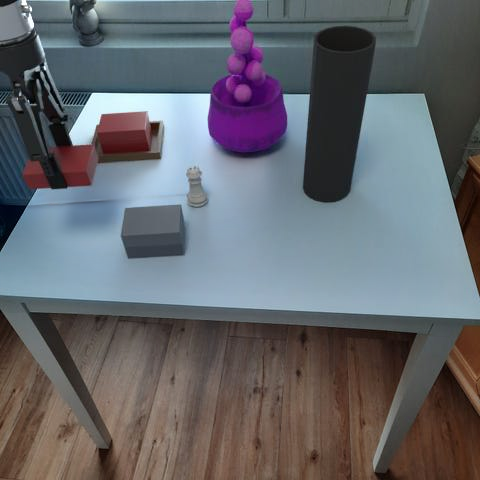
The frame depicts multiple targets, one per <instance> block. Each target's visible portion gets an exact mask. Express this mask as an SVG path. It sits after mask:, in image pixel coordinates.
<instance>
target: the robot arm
mask: <svg viewBox="0 0 480 480" xmlns="http://www.w3.org/2000/svg"><path fill="white" fill-rule="evenodd" d="M32 12H33V8H32V6H31V5H30V4H29V3H28V4H27V1H26V0H0V73H2V74H5V75H6V76H7V77H8V81H9V84H10V88H11V91H12V95H11V96H6V97H5V102H6V104H7V106H8V108H9V109H10V111H11V114H12V115H13V118H14V121H15V123H16V126H17V129H18V132H19V134H20V138H21V140H22V142H23V145H24V147H25V150H26V153H27V155H28V160H29V159H30V161H31V162H35V161H39V163H40V165H41V167H42V169H43V172H44V174H45V176H46V178H47V181H48V183H49V185H50V187H51V188H50V189H51V190H65V189H66V190H67V189H68V188H69V187H68V185H67V183H66V181H65V178H64V176H63V173H62V170H61V168H60V166H59V163H58V161H57V158H56V156H55V153H51V150H50V147H51V146H50V142H49V138H48V137H49V136H48V134H47V129H46V125H45V119H44V116H45V118H46V119H47V121H48V122H49V123H50V124H49V125H48V129H49V131H50V134H51V136H52V139H53V142H54V144H55V147H56V146H73V145H74V143H73V141H72V139H71V135H70V133H69V130H68V128H67V125H66V122H67V123H68V122H69V121H70V117H69V114H65V113H66V106H65V104H64V102H63V100H62V97H61V95H60V93H59V90H58V89H57V86H56V84H55V81H54V79H53V77H52V75H51V72H50V70H49V67H48V63H47V59H46V53H45V50H44V47H43V44H42V42H41V39H40V35H39V33H38V31H37V30H35V29H34V27H35V26H34V25H35V23H34V20H33V18H32V15H31V13H32ZM43 115H44V116H43Z"/></svg>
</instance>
